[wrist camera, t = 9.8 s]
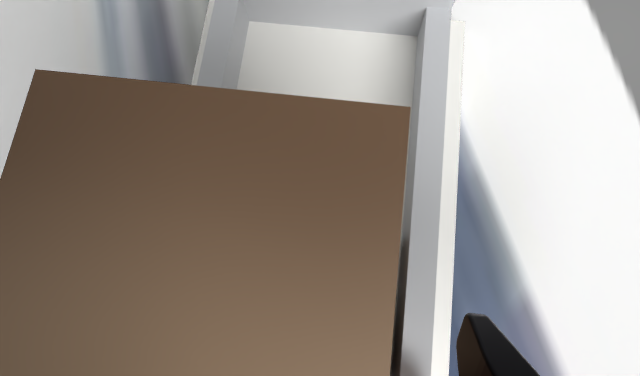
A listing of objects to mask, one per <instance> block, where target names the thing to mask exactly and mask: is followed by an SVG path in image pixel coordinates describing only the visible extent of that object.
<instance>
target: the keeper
mask: <svg viewBox="0 0 640 376" xmlns="http://www.w3.org/2000/svg"><path fill="white" fill-rule="evenodd" d="M410 110H411V107H407V106H397V105H387V104H377V103H367V102H357V101H347V100H337V99H327V98H317V97H307V96H297V95H287V94H277V93H267V92H257V91H247V90H237V89H227V88H217V87H207V86H197V85H187V84H177V83H167V82H157V81H147V80H137V79H127V78H117V77H107V76H97V75H87V74H77V73H67V72H57V71H47V70H37V69H36V70H35V73H34V76H33V79H32V82H31V85H30V88H29V91H28V95H27V98H26V101H25V104H24V107H23V110H22V113H21V116H20V120H19V123H18V126H17V129H16V132H15V135H14V138H13V141H12V145H11V148H10V151H9V154H8V157H7V160H6V163H5V166H4V170H3V173H2V176H1V179H0V376H390V366H391V353H392V340H393V327H394V314H395V302H396V289H397V276H398V263H399V250H400V238H401V225H402V212H403V199H404V186H405V174H406V161H407V148H408V135H409V122H410Z"/></svg>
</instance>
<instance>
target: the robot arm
mask: <svg viewBox="0 0 640 376" xmlns="http://www.w3.org/2000/svg"><path fill="white" fill-rule="evenodd" d="M456 349H457V360H458V371H459V376H540V375H539V374H538V373H537V372H536V370H535V369H534V368H533V367H532V366H531V365H530V364H529V363H528V361H527V360H526V359H525V358H524V357H523V356H522V355H521V353H520V352H519V351H518V350H517V349H516V348H515V347H514V346H513V344H512V343H511V342H510V341H509V340H508V339H507V338H506V336H505V335H504V334H503V333H502V332H501V331H500V330H499V328H498V327H497V326H496V325H495V324H494V323H493V322H492V321H491V319H490V318H489V317H488V316H486V315H483V314H475V313H467V314H466V315H465V317H464V319H463V323H462V326H461V329H460V332H459V335H458V338H457V345H456Z"/></svg>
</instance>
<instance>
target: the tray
mask: <svg viewBox="0 0 640 376" xmlns="http://www.w3.org/2000/svg"><path fill="white" fill-rule="evenodd" d="M454 2H455V0H209V4H208V8H207V13H206V18H205V22H204V27H203V31H202V36H201V40H200V45H199V50H198V54H197V59H196V63H195V68H194V72H193V77H192V82H191V85H197V86H207V87H217V88H227V89H237V90H247V91H257V92H267V93H277V94H287V95H297V96H307V97H317V98H327V99H337V100H347V101H357V102H367V103H377V104H387V105H397V106H407V107H411V110H410V122H409V135H408V148H407V161H406V174H405V186H404V199H403V212H402V225H401V238H400V250H399V263H398V276H397V289H396V302H395V314H394V327H393V340H392V353H391V366H390V376H448V375H449V354H450V332H451V311H452V289H453V268H454V247H455V225H456V204H457V182H458V161H459V139H460V118H461V97H462V75H463V54H464V32H465V21H455V20H451V9H452V7H453V4H454Z"/></svg>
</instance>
